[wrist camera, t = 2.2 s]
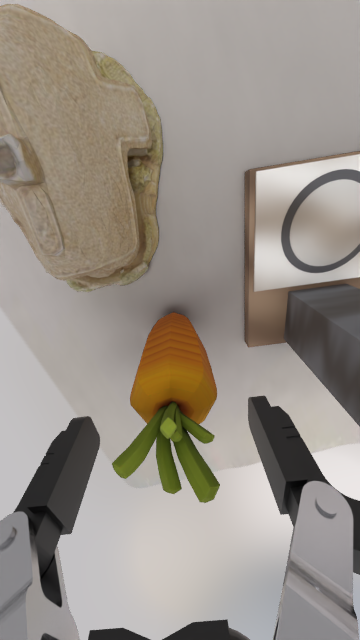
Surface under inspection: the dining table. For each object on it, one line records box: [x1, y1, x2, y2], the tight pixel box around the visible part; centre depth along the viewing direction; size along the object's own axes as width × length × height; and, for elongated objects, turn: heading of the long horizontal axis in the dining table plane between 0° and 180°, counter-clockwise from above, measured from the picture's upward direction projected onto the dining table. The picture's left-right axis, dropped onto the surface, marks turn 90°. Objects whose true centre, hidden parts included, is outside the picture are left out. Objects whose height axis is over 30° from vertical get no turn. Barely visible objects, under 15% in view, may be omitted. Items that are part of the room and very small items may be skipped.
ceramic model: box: [0, 4, 163, 292], centre depth 12 cm, size 14×11×10 cm
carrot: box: [112, 312, 220, 503], centre depth 14 cm, size 5×5×15 cm
